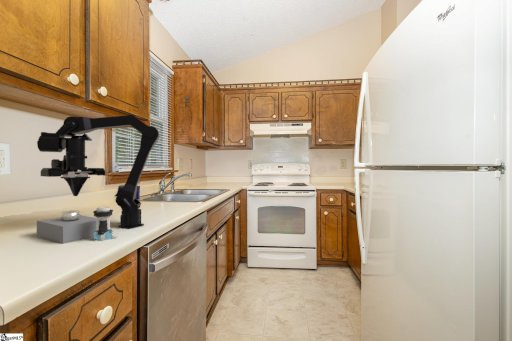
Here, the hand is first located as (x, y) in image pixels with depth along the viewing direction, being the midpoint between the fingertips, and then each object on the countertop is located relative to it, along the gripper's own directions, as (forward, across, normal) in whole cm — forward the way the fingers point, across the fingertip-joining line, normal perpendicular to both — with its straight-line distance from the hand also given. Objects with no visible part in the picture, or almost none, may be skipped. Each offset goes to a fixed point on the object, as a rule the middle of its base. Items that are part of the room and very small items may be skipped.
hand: (75, 196), depth 91 cm
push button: (+12, +2, +21) cm, 24 cm away
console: (+12, +5, +7) cm, 15 cm away
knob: (+12, +5, +7) cm, 15 cm away
